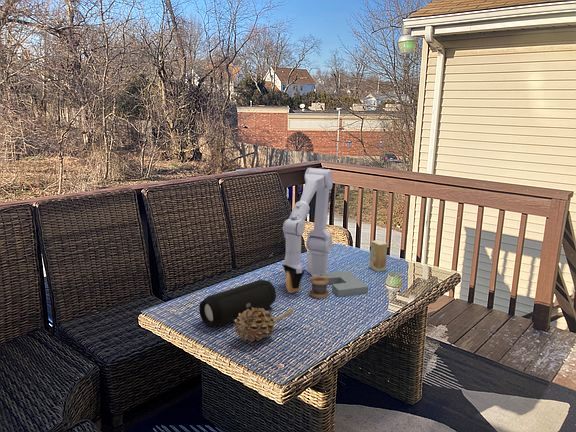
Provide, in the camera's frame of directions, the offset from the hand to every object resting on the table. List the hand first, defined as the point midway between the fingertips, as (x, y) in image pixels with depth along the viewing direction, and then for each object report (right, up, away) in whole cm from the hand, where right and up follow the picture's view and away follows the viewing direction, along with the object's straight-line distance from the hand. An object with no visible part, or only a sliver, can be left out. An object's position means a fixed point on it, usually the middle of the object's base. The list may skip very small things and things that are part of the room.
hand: (292, 284), depth 173 cm
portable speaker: (-18, -7, -21) cm, 29 cm away
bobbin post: (+10, -3, -4) cm, 11 cm away
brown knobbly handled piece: (-9, -10, -34) cm, 36 cm away
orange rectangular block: (0, -2, 0) cm, 2 cm away
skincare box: (+37, +3, +23) cm, 43 cm away
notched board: (+20, -1, +5) cm, 20 cm away
